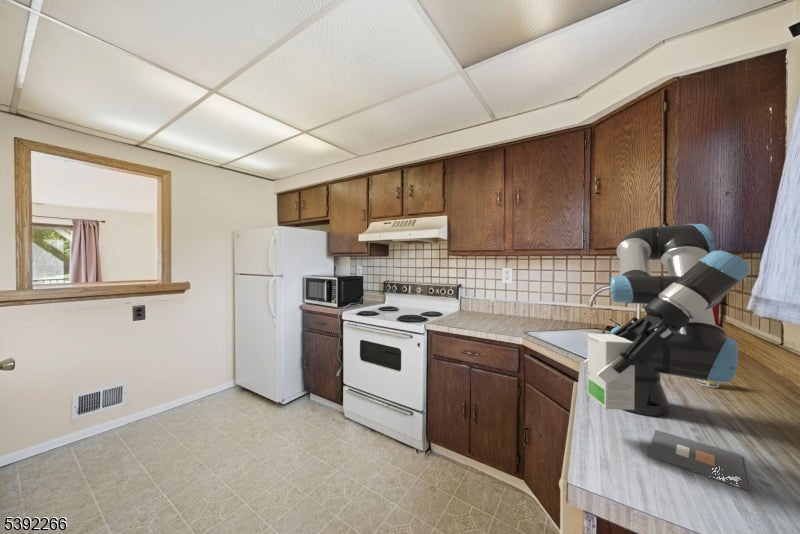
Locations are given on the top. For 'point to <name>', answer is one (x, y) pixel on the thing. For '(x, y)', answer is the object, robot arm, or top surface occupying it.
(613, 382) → the skincare box
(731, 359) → the robot arm
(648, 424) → the top surface
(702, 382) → the supplement bottle
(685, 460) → the mat
